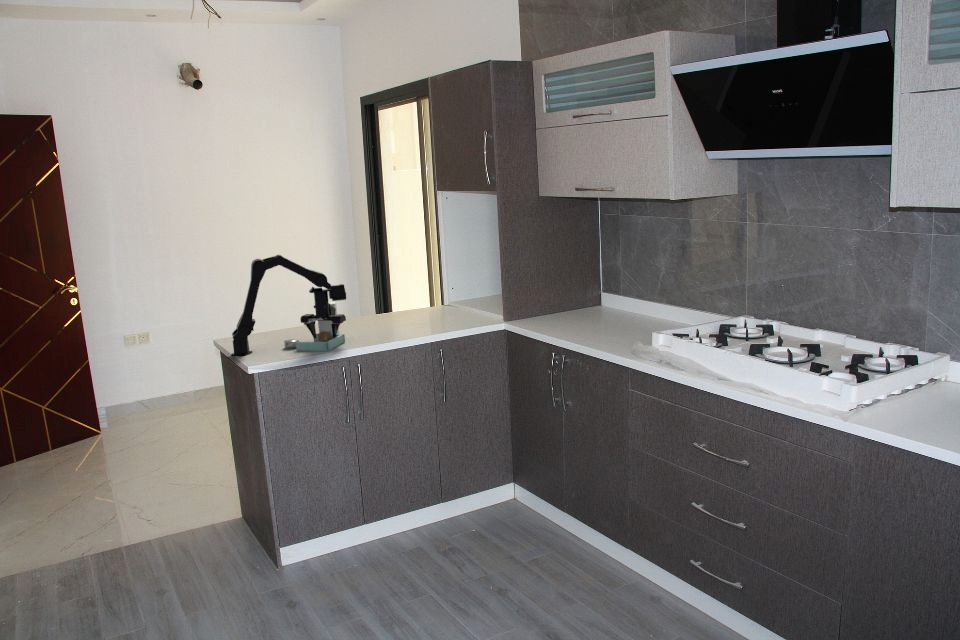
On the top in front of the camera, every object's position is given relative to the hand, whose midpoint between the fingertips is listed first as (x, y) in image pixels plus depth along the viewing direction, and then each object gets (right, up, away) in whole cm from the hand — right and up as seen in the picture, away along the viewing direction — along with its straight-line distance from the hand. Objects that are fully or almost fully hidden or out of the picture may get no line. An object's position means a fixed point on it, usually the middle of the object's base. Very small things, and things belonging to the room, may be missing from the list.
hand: (324, 338), depth 339 cm
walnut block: (0, -3, +1) cm, 3 cm away
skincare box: (0, 0, +13) cm, 13 cm away
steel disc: (-13, -4, -3) cm, 14 cm away
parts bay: (-1, -3, -3) cm, 5 cm away
